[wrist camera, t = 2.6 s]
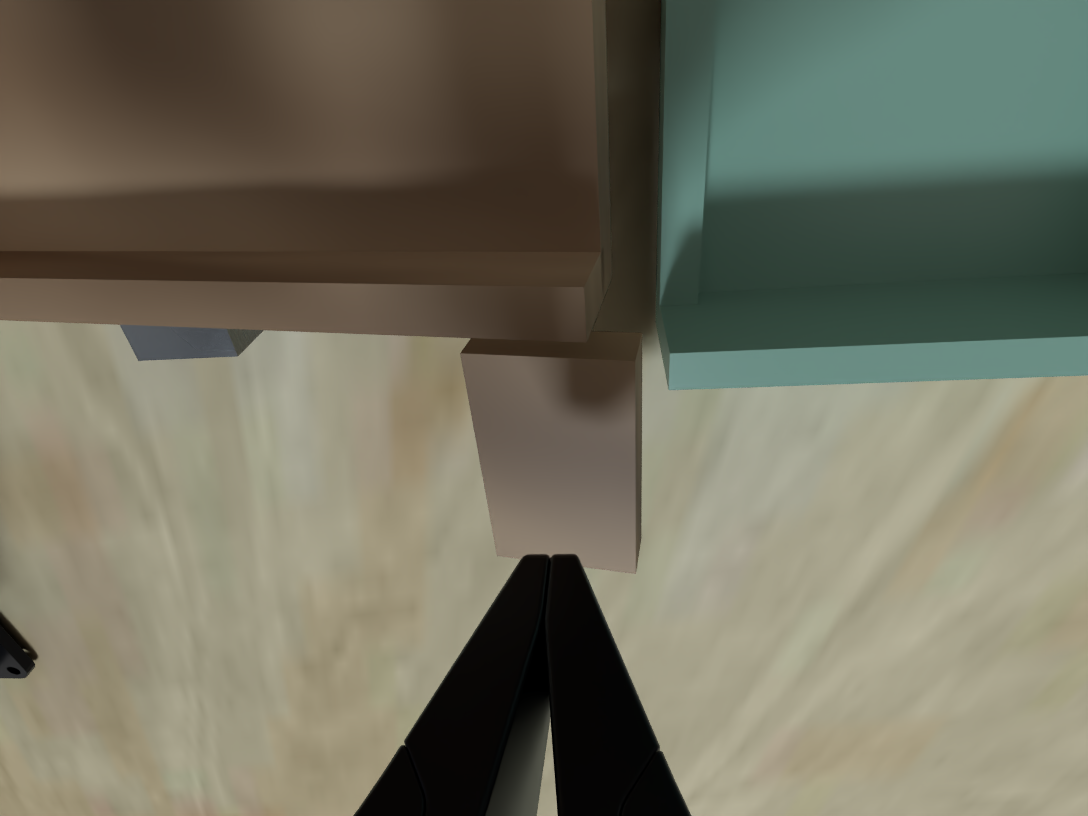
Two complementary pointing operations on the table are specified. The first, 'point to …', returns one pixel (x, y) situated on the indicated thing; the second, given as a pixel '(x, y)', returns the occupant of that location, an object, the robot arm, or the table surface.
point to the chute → (346, 208)
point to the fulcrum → (186, 341)
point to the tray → (872, 191)
